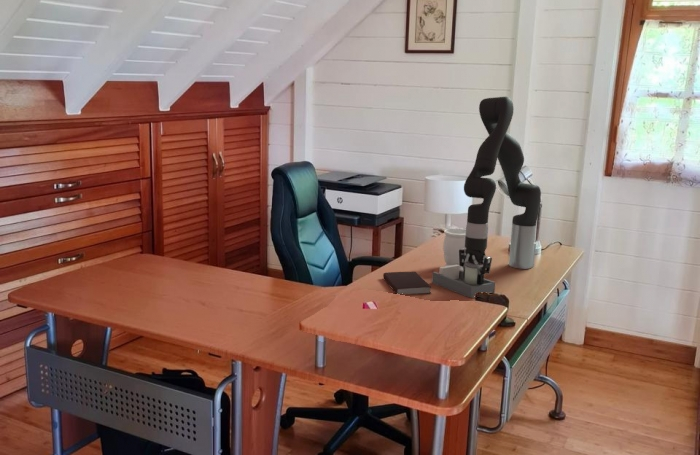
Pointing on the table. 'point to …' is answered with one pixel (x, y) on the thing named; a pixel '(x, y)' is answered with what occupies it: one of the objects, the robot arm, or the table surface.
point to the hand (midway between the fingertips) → (473, 281)
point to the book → (407, 283)
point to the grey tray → (462, 285)
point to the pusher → (450, 271)
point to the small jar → (471, 274)
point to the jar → (453, 246)
